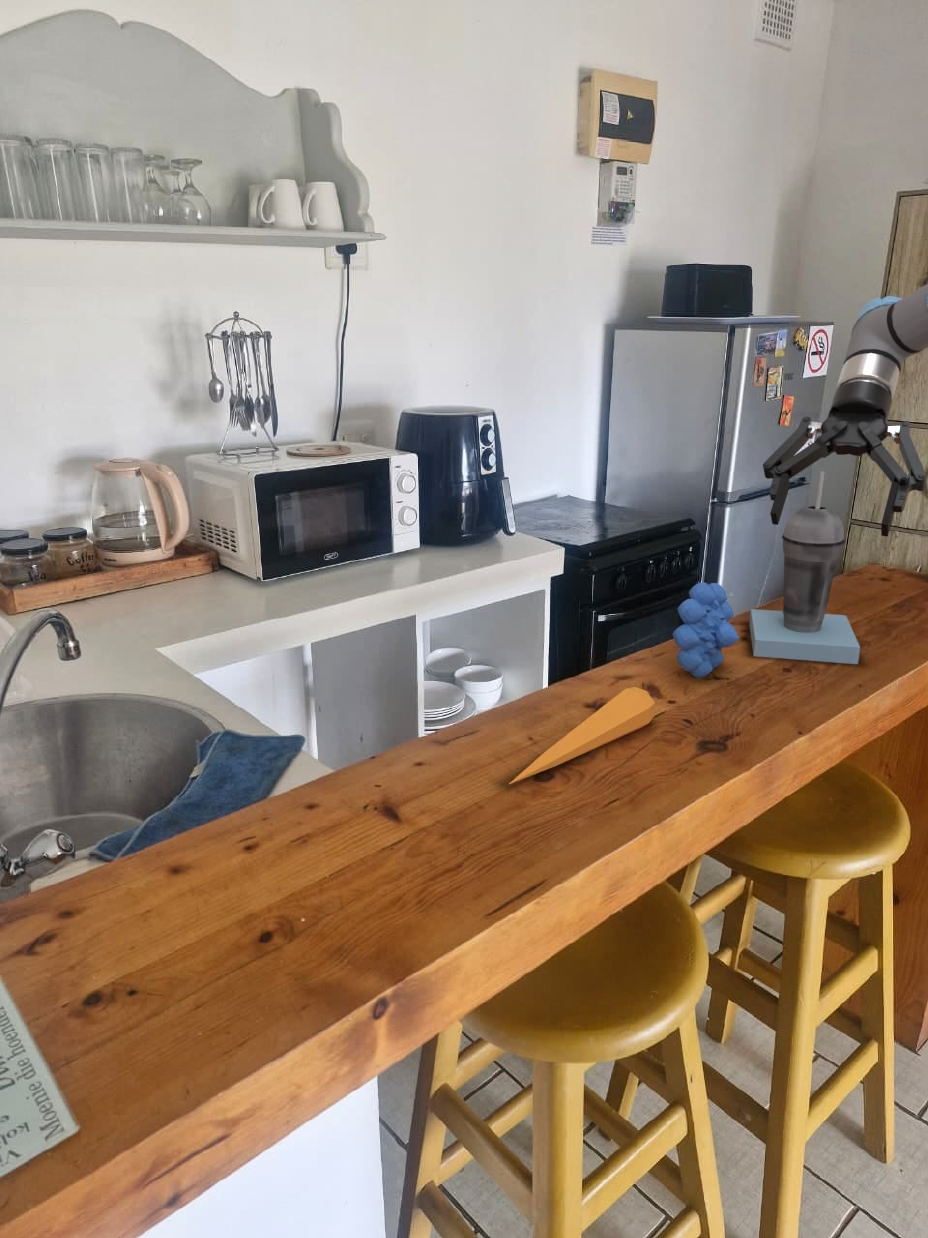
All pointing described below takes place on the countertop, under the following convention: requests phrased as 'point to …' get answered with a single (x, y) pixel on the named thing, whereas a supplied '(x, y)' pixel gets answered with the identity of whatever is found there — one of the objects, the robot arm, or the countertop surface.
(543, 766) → the carrot
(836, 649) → the foam pad
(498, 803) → the countertop surface
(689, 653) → the grapes
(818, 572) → the beverage cup
